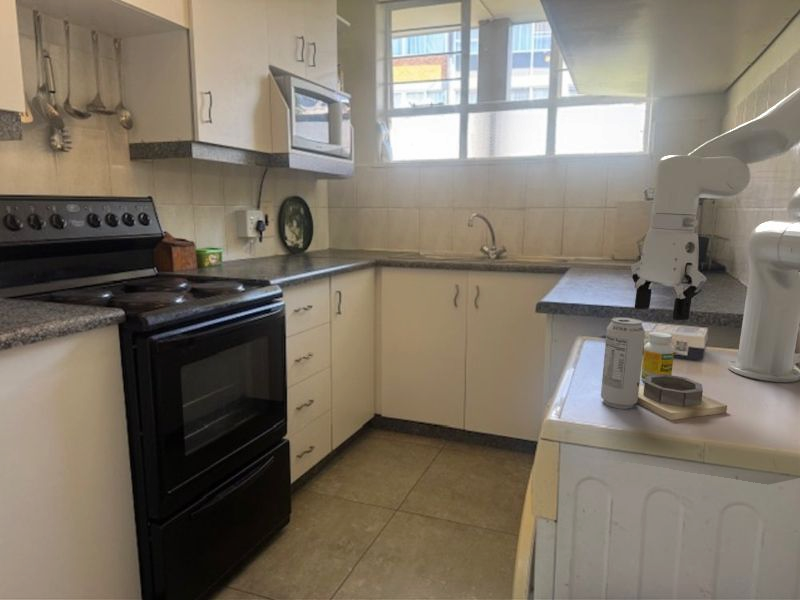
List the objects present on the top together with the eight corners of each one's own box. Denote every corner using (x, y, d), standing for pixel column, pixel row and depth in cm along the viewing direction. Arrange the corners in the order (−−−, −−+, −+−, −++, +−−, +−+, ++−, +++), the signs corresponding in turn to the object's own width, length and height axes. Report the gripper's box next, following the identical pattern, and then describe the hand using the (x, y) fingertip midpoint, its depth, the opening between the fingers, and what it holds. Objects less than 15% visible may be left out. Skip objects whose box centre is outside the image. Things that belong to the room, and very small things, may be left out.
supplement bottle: (650, 375, 111) (655, 329, 109) (676, 383, 106) (681, 335, 104) (634, 379, 108) (639, 333, 106) (660, 388, 103) (666, 339, 102)
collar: (671, 388, 103) (673, 369, 103) (726, 412, 92) (729, 391, 91) (619, 394, 100) (621, 375, 99) (670, 420, 88) (672, 398, 88)
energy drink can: (644, 409, 93) (653, 324, 90) (611, 410, 92) (620, 324, 89) (624, 396, 99) (632, 315, 96) (593, 397, 98) (601, 316, 95)
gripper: (728, 227, 94) (713, 323, 97) (653, 222, 110) (643, 304, 113) (694, 226, 92) (680, 325, 95) (623, 221, 108) (613, 305, 111)
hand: (660, 313), depth 104 cm, fingers open, 9 cm apart
